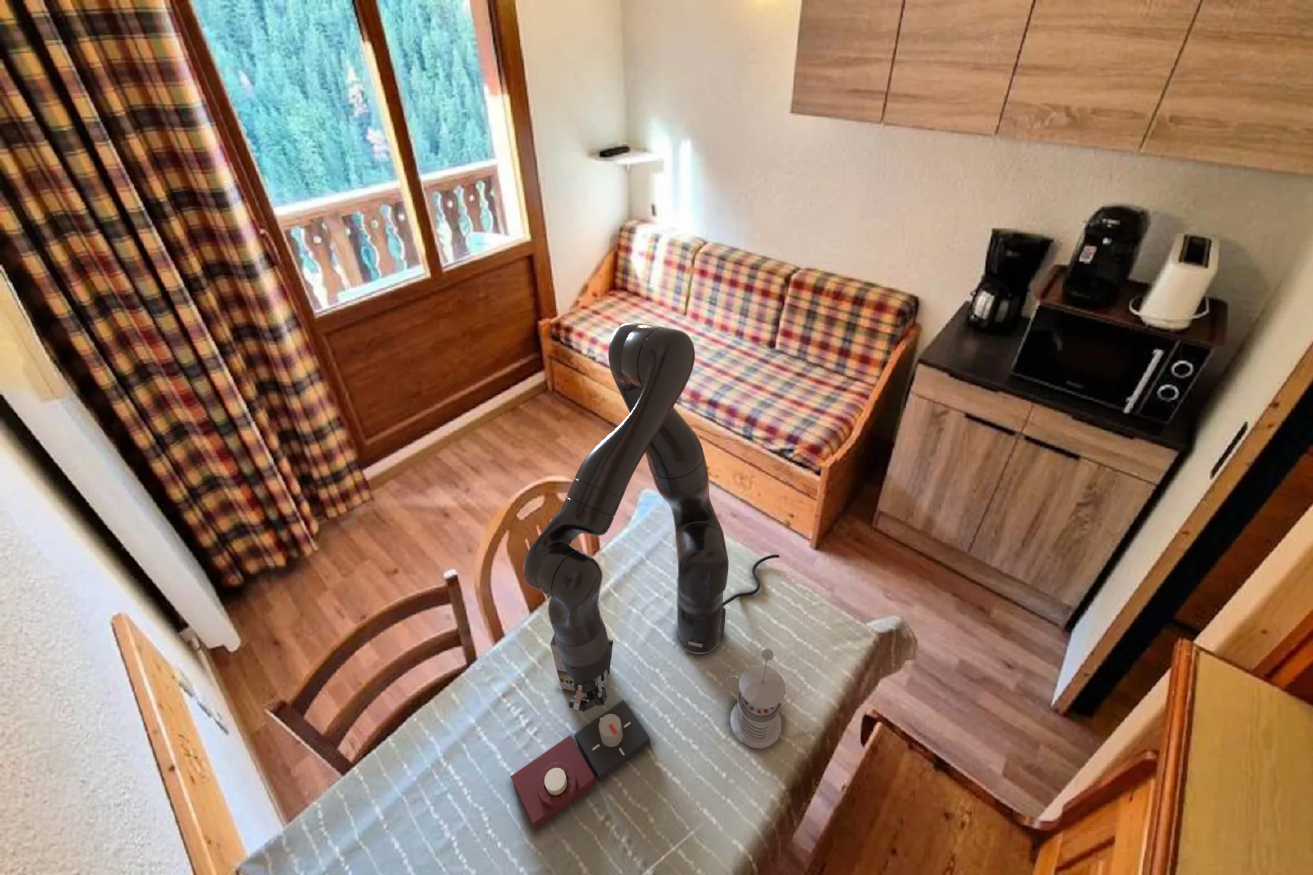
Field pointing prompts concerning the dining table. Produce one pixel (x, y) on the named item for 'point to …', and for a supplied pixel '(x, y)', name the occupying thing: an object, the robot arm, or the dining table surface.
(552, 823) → the dining table surface
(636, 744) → the panel
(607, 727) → the timer knob
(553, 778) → the button
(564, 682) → the coffee box
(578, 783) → the red button box
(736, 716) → the french press
